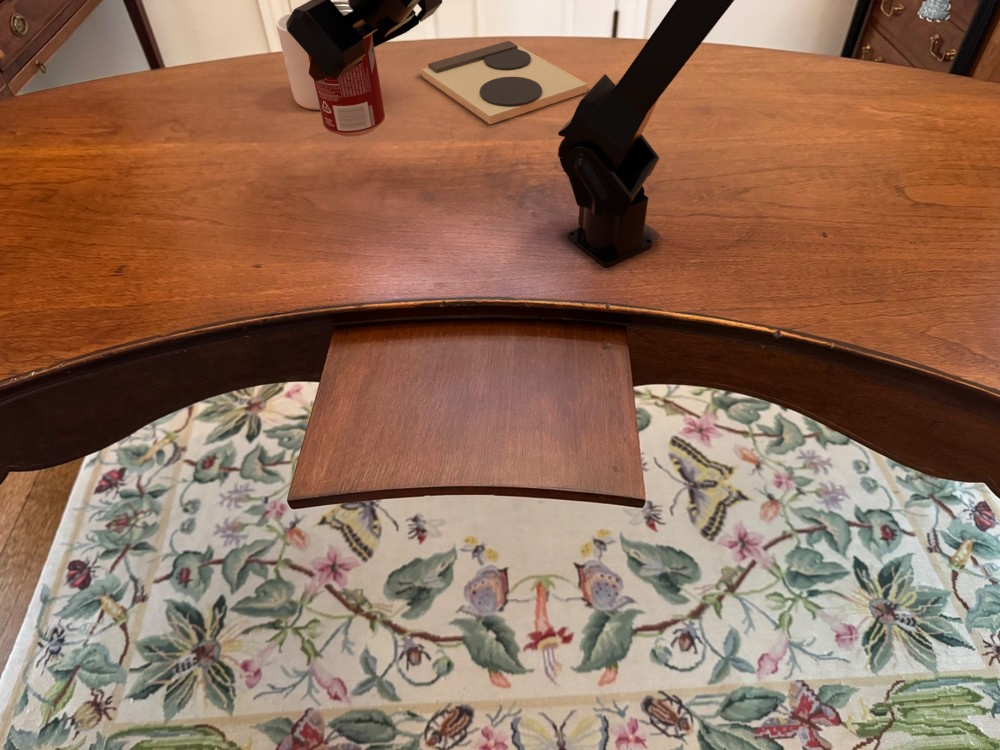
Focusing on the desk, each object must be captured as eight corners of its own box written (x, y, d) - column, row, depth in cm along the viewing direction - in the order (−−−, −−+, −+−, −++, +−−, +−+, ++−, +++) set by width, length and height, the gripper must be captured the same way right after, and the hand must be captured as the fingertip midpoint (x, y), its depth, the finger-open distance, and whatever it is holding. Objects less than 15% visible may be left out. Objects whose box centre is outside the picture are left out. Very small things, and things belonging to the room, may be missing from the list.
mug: (387, 88, 101) (377, 11, 93) (368, 115, 95) (355, 35, 88) (308, 83, 103) (291, 6, 95) (284, 109, 97) (265, 30, 90)
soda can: (380, 140, 77) (360, 23, 68) (318, 141, 77) (291, 24, 68) (390, 111, 81) (373, -2, 73) (332, 112, 82) (308, -1, 73)
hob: (587, 92, 98) (588, 79, 97) (490, 125, 92) (490, 112, 91) (513, 50, 109) (513, 38, 108) (422, 77, 103) (421, 64, 102)
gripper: (402, -146, 67) (330, -29, 78) (275, -98, 55) (213, 31, 67) (481, -44, 70) (400, 54, 81) (376, 22, 58) (300, 126, 70)
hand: (333, 63), depth 75 cm, fingers closed on soda can, 7 cm apart
